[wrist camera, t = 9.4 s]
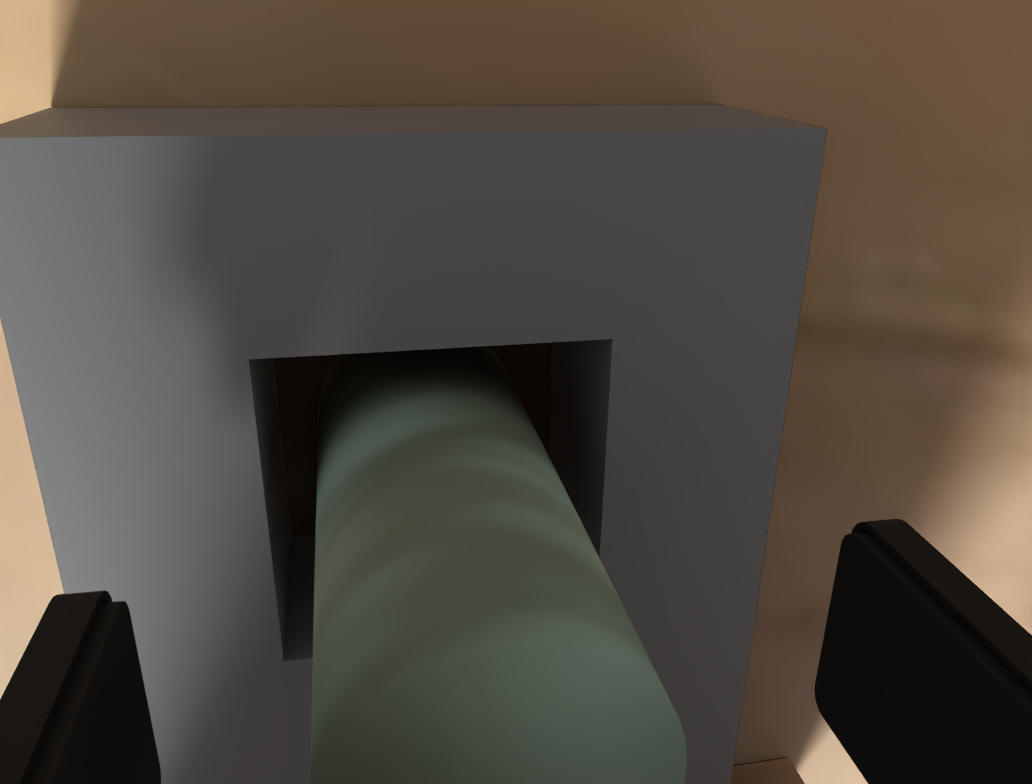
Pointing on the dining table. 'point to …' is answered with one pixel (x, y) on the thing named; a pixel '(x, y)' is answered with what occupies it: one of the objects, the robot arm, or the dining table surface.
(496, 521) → the peg
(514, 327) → the socket block
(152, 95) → the dining table surface
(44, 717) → the robot arm
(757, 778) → the brown notched wall
